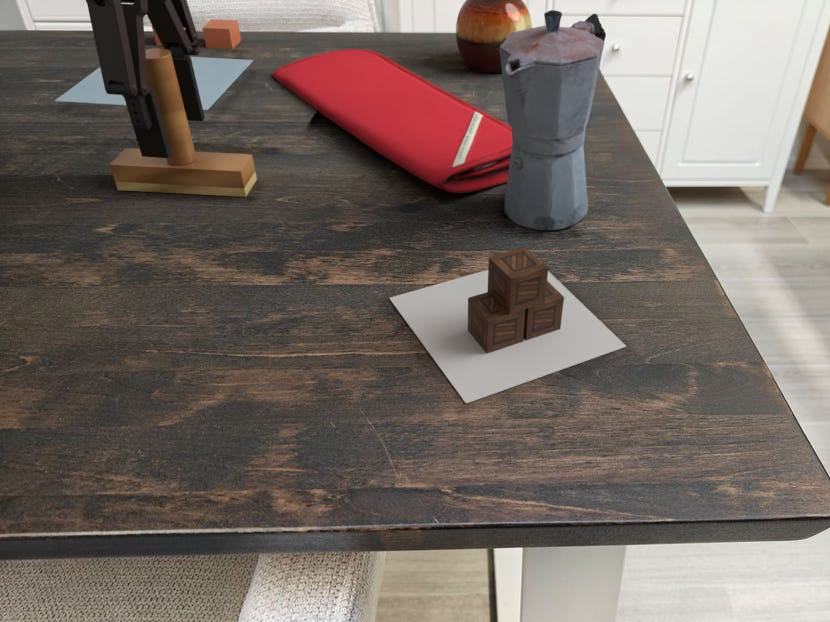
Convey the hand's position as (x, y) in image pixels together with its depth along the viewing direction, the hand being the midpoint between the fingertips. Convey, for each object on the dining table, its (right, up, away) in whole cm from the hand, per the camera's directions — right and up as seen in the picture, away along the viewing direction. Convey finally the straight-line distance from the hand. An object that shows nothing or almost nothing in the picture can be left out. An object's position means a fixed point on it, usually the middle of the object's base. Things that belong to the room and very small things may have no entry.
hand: (174, 136), depth 77 cm
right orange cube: (-7, +23, +35) cm, 43 cm away
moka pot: (+39, -7, +2) cm, 39 cm away
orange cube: (-14, +24, +35) cm, 45 cm away
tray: (-12, +14, +24) cm, 30 cm away
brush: (0, -4, +4) cm, 5 cm away
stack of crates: (+34, -20, -13) cm, 42 cm away
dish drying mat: (+22, +7, +17) cm, 28 cm away
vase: (+34, +21, +34) cm, 52 cm away
